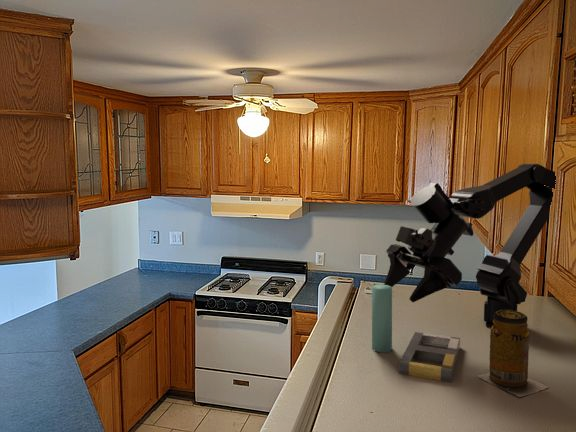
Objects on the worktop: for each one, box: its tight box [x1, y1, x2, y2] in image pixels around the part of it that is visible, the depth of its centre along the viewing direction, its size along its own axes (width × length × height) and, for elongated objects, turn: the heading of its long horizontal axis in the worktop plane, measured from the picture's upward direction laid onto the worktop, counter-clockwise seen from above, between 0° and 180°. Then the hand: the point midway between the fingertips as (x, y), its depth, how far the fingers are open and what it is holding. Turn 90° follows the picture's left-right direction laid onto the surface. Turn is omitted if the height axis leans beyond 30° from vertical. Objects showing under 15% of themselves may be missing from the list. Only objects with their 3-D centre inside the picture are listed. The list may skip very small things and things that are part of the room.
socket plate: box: [398, 331, 461, 383], centre depth 89 cm, size 9×16×2 cm, turn 154°
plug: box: [371, 284, 393, 354], centre depth 94 cm, size 4×4×13 cm
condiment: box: [477, 310, 549, 398], centre depth 78 cm, size 7×8×12 cm
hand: (397, 294), depth 94 cm, fingers open, 9 cm apart
